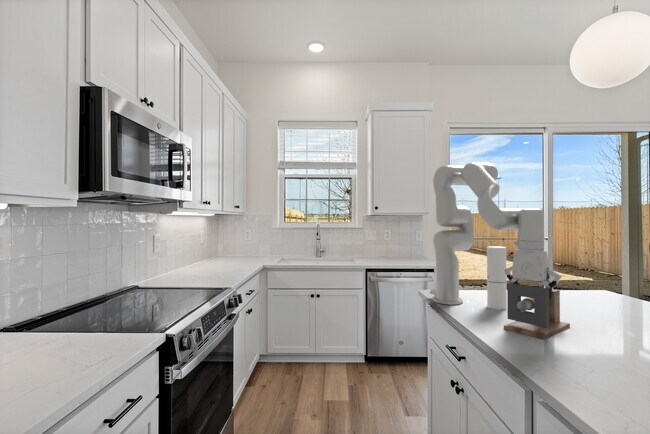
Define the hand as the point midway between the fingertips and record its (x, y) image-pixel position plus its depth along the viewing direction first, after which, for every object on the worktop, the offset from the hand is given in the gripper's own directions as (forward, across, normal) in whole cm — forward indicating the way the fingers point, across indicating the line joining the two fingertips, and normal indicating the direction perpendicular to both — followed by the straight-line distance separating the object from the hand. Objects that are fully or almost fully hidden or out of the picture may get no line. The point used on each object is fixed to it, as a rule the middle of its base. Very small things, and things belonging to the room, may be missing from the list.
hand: (531, 297), depth 114 cm
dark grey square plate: (+8, 0, -3) cm, 8 cm away
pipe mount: (+11, 0, +4) cm, 12 cm away
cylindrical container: (+11, -22, +19) cm, 31 cm away
